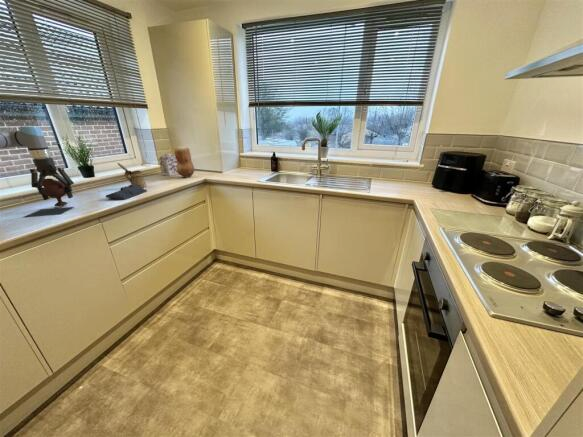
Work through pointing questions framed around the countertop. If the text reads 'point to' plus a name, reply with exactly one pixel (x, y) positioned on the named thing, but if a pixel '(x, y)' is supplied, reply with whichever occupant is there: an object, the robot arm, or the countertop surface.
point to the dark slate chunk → (127, 192)
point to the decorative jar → (168, 164)
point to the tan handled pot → (134, 177)
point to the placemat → (49, 212)
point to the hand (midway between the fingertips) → (58, 198)
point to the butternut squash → (184, 161)
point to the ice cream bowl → (54, 190)
